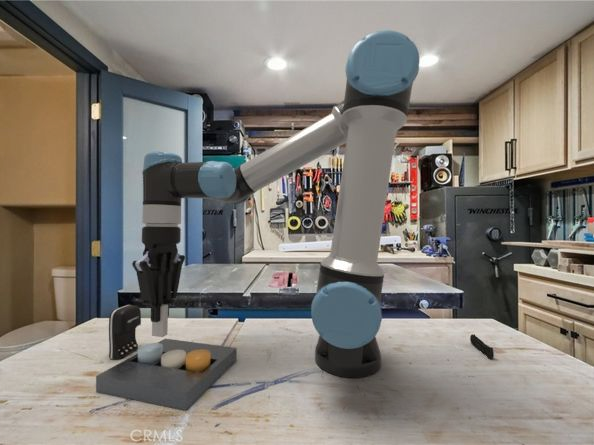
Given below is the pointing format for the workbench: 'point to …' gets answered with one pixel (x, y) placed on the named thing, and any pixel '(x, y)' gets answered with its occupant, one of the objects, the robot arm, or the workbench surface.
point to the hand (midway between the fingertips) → (159, 335)
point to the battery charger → (123, 331)
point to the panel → (166, 376)
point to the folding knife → (482, 346)
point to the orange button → (198, 360)
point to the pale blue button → (150, 353)
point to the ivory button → (173, 359)
